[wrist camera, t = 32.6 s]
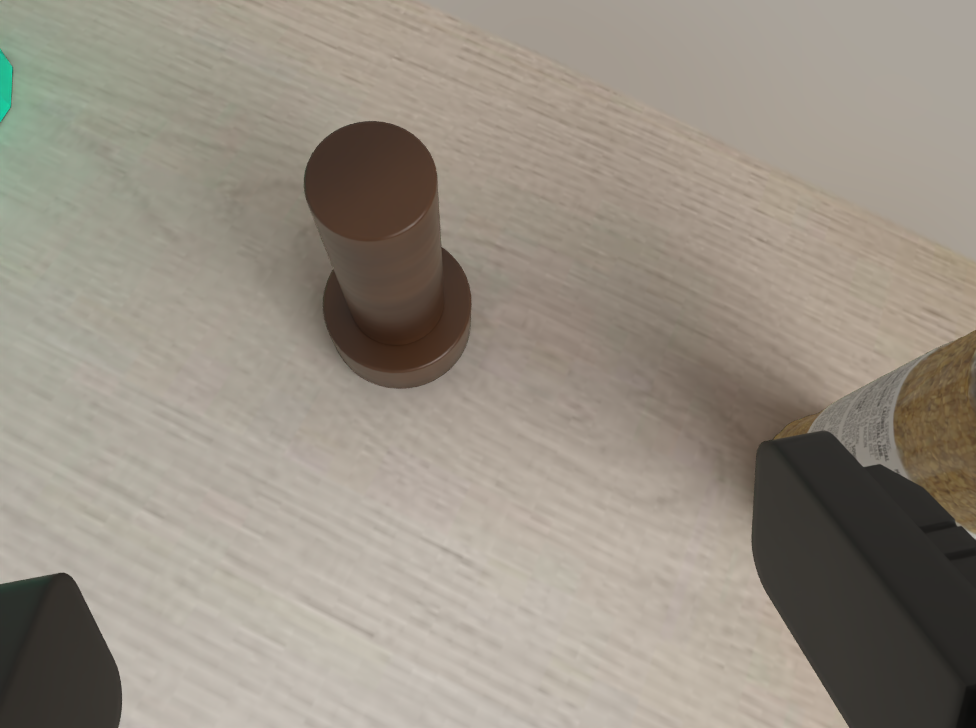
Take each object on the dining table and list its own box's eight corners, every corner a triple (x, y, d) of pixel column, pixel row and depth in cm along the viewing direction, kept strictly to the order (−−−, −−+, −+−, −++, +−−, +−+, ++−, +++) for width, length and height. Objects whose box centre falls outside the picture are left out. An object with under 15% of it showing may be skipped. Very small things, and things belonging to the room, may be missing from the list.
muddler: (499, 324, 27) (518, 183, 18) (397, 418, 26) (361, 319, 17) (406, 232, 27) (378, 50, 18) (303, 319, 27) (220, 174, 17)
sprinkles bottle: (931, 498, 26) (1408, 396, 13) (828, 595, 25) (1228, 594, 12) (825, 385, 27) (1171, 183, 14) (721, 476, 26) (985, 353, 13)
